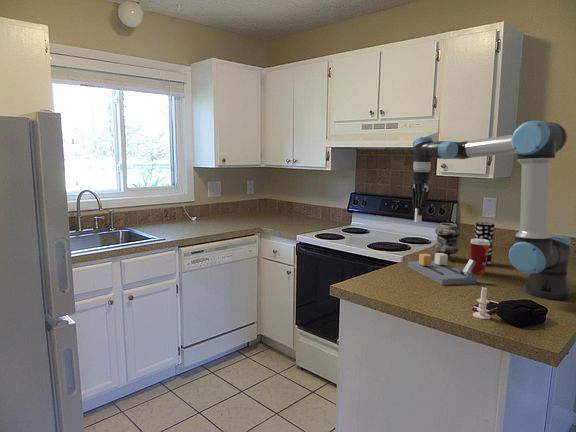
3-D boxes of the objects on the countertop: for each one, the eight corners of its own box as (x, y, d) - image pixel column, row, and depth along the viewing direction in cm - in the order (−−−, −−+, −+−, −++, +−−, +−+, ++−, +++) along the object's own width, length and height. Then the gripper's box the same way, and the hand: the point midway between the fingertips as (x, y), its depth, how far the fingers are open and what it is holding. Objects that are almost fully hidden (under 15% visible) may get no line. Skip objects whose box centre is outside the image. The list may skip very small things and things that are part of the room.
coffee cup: (489, 275, 183) (492, 242, 181) (469, 274, 185) (472, 241, 182) (484, 270, 191) (487, 238, 189) (465, 269, 193) (468, 237, 190)
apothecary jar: (460, 262, 205) (463, 226, 202) (435, 261, 207) (437, 225, 204) (454, 256, 217) (457, 222, 214) (430, 255, 219) (433, 221, 216)
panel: (476, 283, 172) (477, 272, 171) (441, 285, 168) (442, 274, 168) (438, 265, 199) (438, 256, 198) (407, 266, 195) (408, 257, 195)
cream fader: (447, 264, 188) (447, 255, 188) (439, 265, 188) (439, 255, 187) (442, 262, 192) (442, 252, 192) (434, 262, 191) (434, 253, 191)
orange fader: (431, 265, 187) (431, 255, 186) (423, 265, 186) (423, 256, 185) (426, 263, 191) (427, 253, 190) (418, 263, 190) (419, 253, 189)
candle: (488, 314, 138) (491, 284, 137) (492, 320, 133) (495, 289, 132) (471, 312, 139) (474, 282, 138) (474, 318, 134) (477, 287, 133)
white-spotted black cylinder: (473, 265, 200) (477, 224, 197) (470, 261, 208) (474, 221, 205) (492, 266, 198) (496, 225, 195) (488, 262, 206) (492, 222, 203)
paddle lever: (468, 276, 172) (476, 262, 172) (465, 275, 172) (474, 260, 172) (463, 274, 175) (471, 260, 175) (460, 272, 175) (469, 258, 175)
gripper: (436, 172, 184) (432, 224, 188) (421, 170, 197) (417, 219, 200) (421, 171, 183) (417, 224, 186) (406, 170, 195) (403, 219, 199)
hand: (417, 222), depth 193 cm, fingers closed
